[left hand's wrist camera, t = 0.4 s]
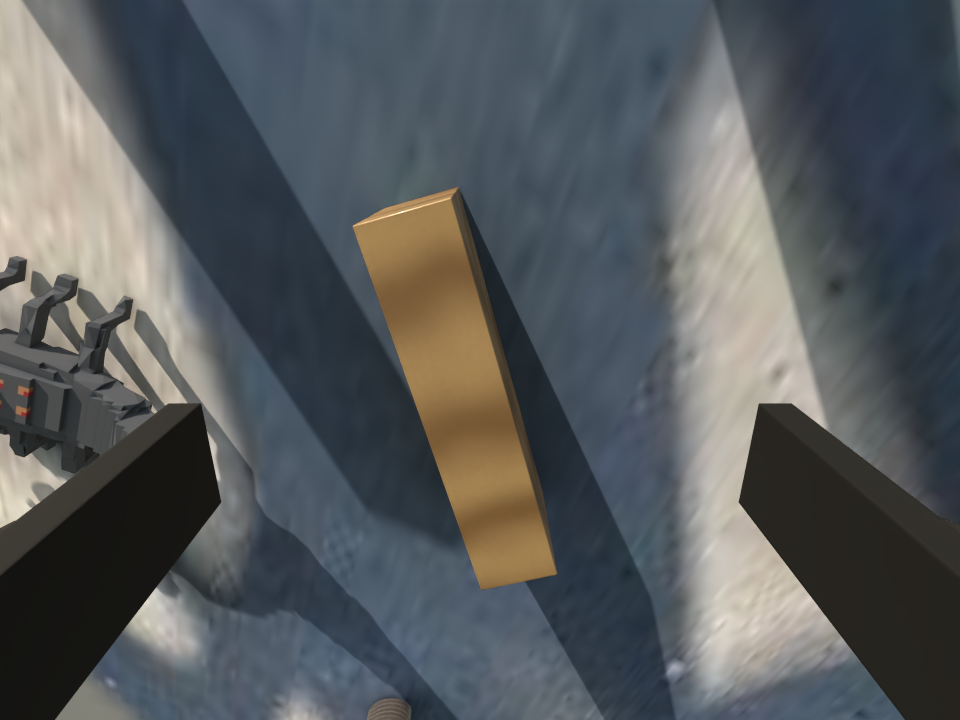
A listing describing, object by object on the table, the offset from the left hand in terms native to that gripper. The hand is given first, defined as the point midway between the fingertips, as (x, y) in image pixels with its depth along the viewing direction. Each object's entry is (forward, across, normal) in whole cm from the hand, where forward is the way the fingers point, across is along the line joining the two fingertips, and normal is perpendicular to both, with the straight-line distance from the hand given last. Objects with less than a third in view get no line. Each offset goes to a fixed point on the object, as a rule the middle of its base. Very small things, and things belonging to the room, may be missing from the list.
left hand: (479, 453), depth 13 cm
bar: (+23, -1, -6) cm, 24 cm away
